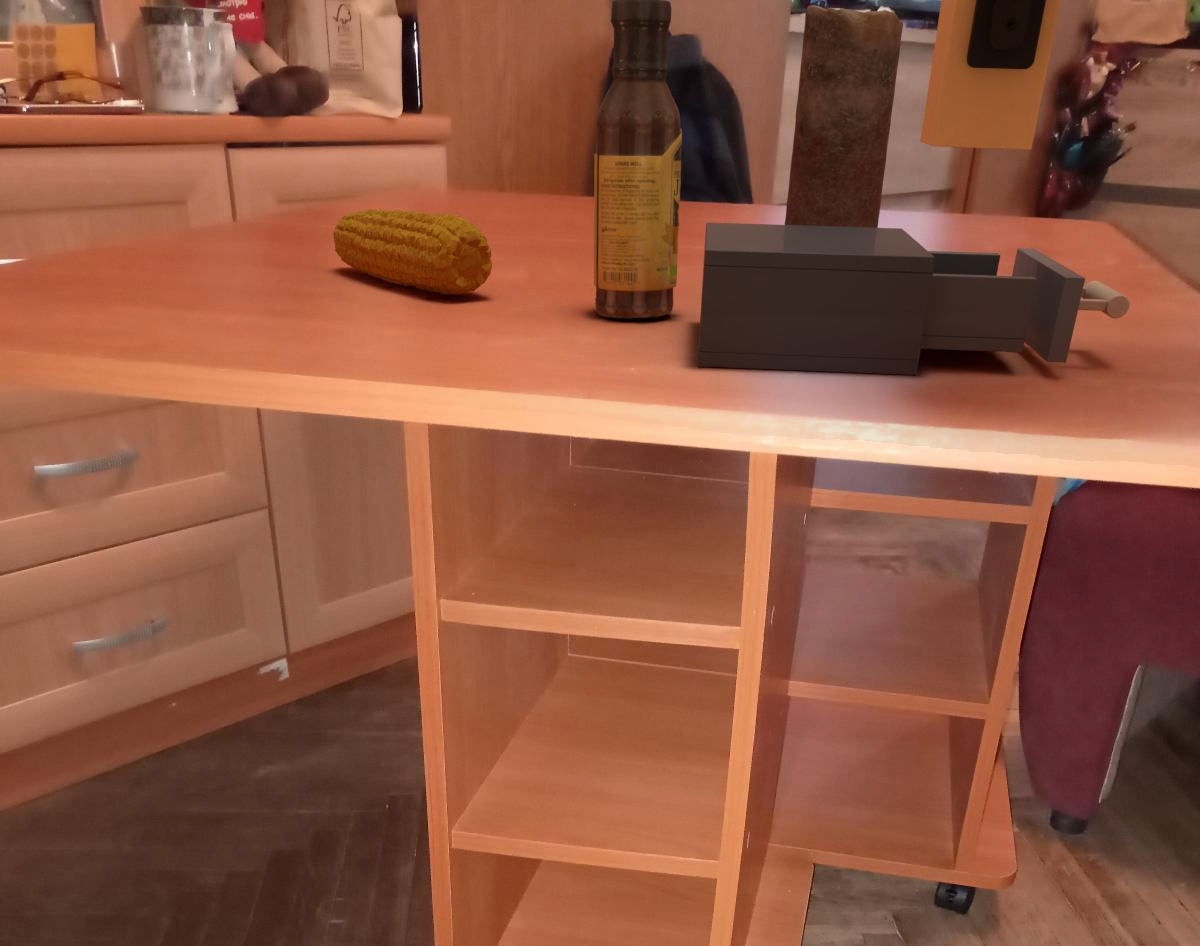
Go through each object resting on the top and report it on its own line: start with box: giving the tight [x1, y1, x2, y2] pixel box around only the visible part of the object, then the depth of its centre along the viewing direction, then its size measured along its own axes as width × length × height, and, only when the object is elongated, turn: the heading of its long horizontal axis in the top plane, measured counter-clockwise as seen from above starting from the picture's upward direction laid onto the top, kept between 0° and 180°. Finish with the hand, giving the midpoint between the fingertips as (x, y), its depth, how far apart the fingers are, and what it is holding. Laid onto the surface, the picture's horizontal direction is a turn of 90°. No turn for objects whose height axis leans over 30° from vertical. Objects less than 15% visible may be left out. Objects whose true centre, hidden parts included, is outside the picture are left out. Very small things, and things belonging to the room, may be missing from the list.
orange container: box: [919, 0, 1062, 151], centre depth 59 cm, size 5×5×9 cm
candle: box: [784, 4, 904, 228], centre depth 88 cm, size 8×7×20 cm
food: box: [332, 208, 493, 296], centre depth 96 cm, size 21×6×6 cm, turn 41°
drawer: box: [921, 247, 1131, 364], centre depth 76 cm, size 17×13×5 cm
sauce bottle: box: [593, 0, 683, 320], centre depth 83 cm, size 6×6×20 cm
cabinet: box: [697, 222, 935, 376], centre depth 77 cm, size 14×14×7 cm
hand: (988, 63), depth 59 cm, fingers closed on orange container, 4 cm apart
